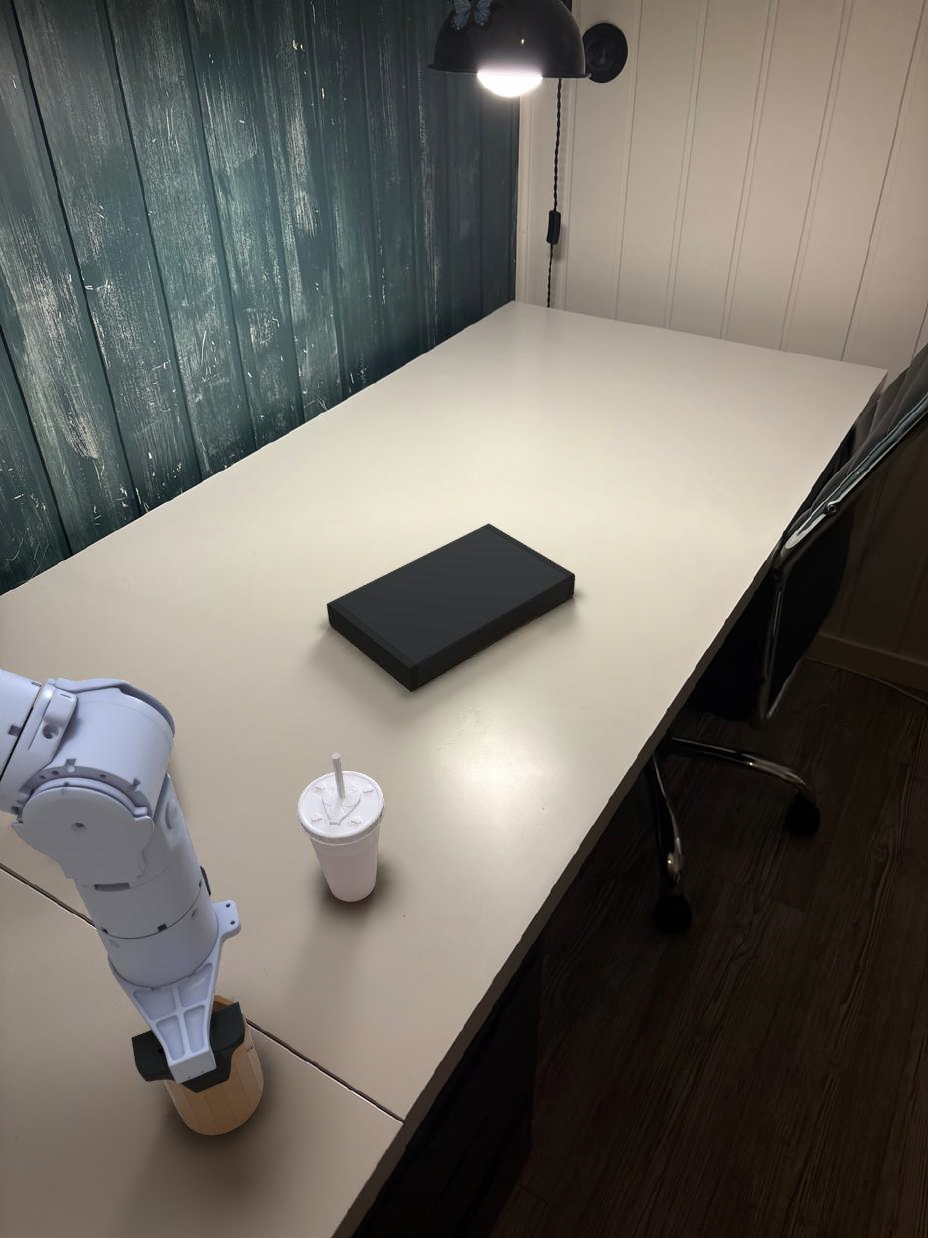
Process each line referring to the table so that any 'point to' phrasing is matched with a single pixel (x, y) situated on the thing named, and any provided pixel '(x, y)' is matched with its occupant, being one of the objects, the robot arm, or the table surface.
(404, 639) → the external hard drive
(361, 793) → the smoothie
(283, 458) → the table surface
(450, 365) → the table surface
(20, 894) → the table surface
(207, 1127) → the paper cup
